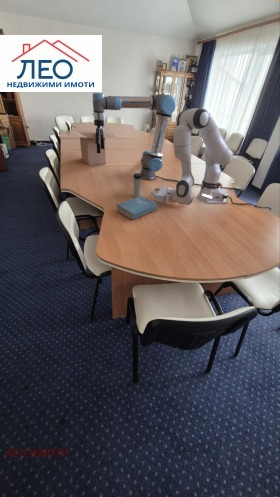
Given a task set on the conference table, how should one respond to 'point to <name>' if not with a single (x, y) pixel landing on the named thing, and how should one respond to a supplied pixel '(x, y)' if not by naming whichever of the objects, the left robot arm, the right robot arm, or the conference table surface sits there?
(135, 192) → the jar
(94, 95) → the left robot arm
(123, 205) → the book
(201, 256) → the conference table surface
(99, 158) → the box
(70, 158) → the conference table surface
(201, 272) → the conference table surface
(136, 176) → the lid
